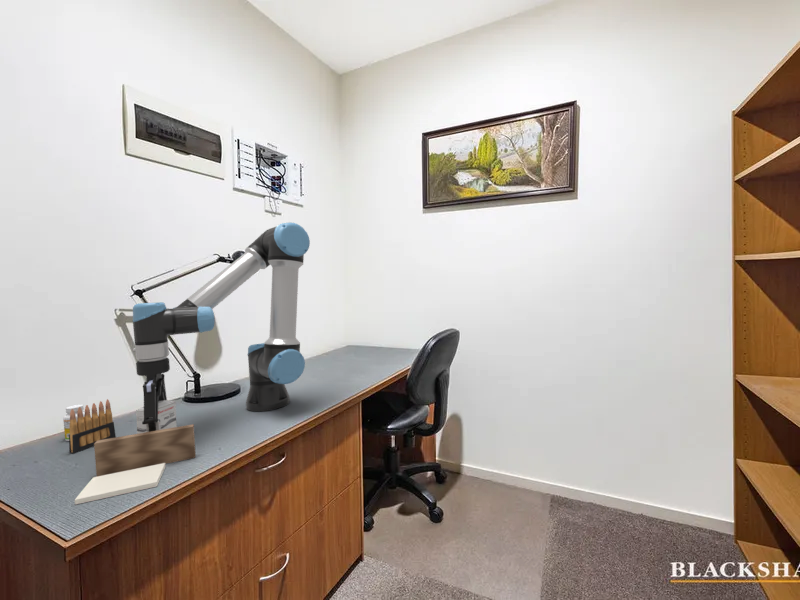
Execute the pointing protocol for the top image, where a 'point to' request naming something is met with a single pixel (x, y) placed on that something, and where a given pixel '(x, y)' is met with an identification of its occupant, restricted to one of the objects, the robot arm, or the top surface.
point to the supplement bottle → (67, 418)
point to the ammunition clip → (90, 427)
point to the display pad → (121, 483)
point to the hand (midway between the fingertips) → (158, 439)
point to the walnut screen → (144, 449)
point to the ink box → (159, 416)
